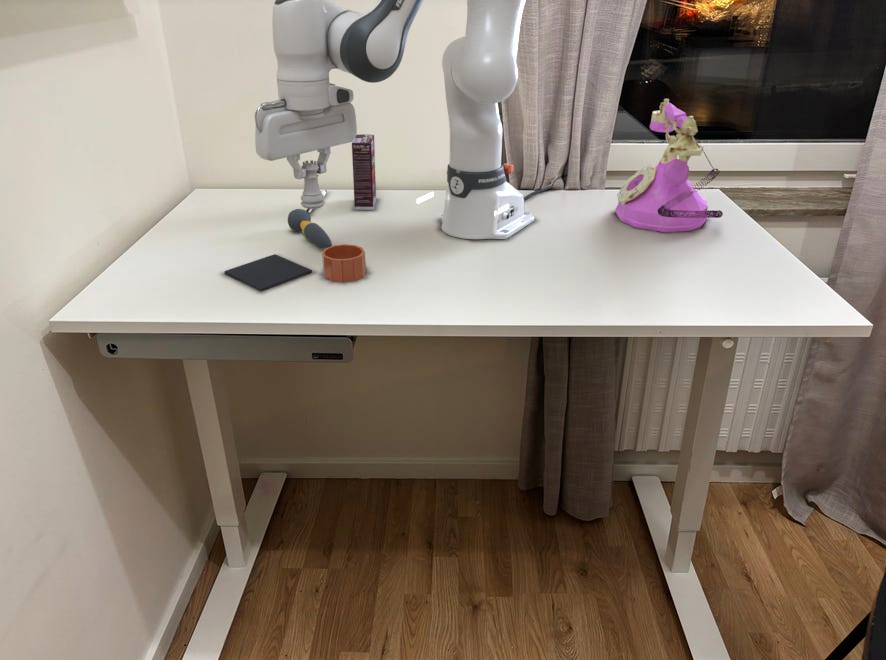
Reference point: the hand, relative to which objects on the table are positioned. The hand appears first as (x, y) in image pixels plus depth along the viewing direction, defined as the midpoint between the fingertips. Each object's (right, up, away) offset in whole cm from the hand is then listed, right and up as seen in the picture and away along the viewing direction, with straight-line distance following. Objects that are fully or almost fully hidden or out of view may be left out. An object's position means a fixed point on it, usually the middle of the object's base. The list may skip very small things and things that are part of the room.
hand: (310, 175), depth 135 cm
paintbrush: (-4, -7, +27) cm, 28 cm away
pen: (-6, +4, +46) cm, 47 cm away
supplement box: (+6, +4, +46) cm, 47 cm away
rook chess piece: (0, -5, +3) cm, 6 cm away
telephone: (+76, -3, +33) cm, 82 cm away
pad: (-10, -17, +10) cm, 22 cm away
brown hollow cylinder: (+5, -17, +10) cm, 20 cm away
